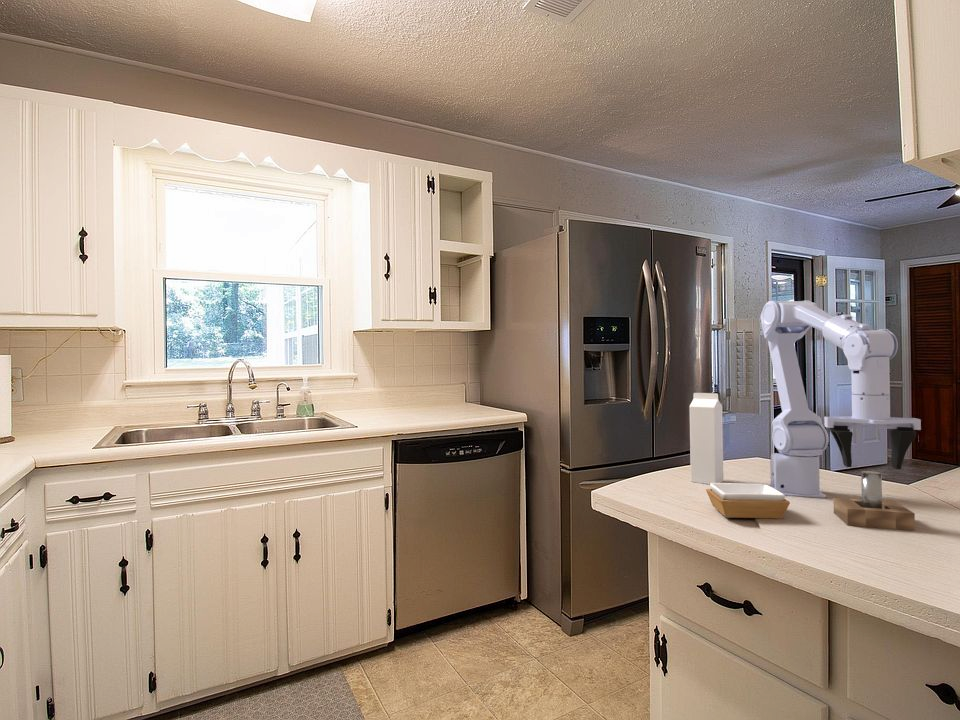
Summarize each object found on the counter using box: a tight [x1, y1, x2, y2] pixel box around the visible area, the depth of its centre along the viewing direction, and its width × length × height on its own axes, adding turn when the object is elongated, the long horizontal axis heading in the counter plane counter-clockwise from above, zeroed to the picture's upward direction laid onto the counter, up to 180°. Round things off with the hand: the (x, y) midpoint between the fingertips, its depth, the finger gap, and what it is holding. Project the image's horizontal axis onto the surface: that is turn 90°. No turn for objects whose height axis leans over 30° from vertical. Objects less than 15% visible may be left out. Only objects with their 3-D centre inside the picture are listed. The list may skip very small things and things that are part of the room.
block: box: [833, 497, 916, 531], centre depth 96 cm, size 10×8×3 cm
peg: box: [860, 470, 883, 509], centre depth 96 cm, size 3×3×9 cm
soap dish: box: [705, 482, 791, 520], centre depth 103 cm, size 12×10×5 cm
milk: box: [689, 392, 724, 485], centre depth 129 cm, size 6×6×22 cm
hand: (871, 467), depth 97 cm, fingers open, 7 cm apart
